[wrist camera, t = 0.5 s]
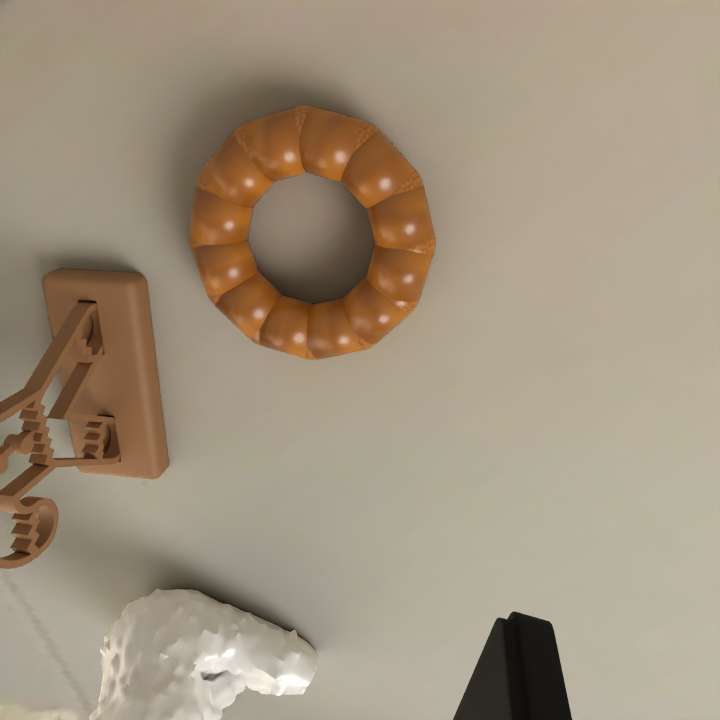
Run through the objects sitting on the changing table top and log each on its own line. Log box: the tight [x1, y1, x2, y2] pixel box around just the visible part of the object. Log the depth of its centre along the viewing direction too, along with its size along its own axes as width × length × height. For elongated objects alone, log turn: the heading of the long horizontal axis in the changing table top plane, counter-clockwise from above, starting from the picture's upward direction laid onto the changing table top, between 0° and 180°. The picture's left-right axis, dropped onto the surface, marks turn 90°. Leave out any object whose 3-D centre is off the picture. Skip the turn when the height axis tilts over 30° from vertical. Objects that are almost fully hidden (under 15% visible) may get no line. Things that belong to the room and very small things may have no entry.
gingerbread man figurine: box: [0, 269, 169, 569], centre depth 19 cm, size 9×4×12 cm, turn 179°
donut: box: [189, 105, 436, 360], centre depth 20 cm, size 8×8×2 cm
